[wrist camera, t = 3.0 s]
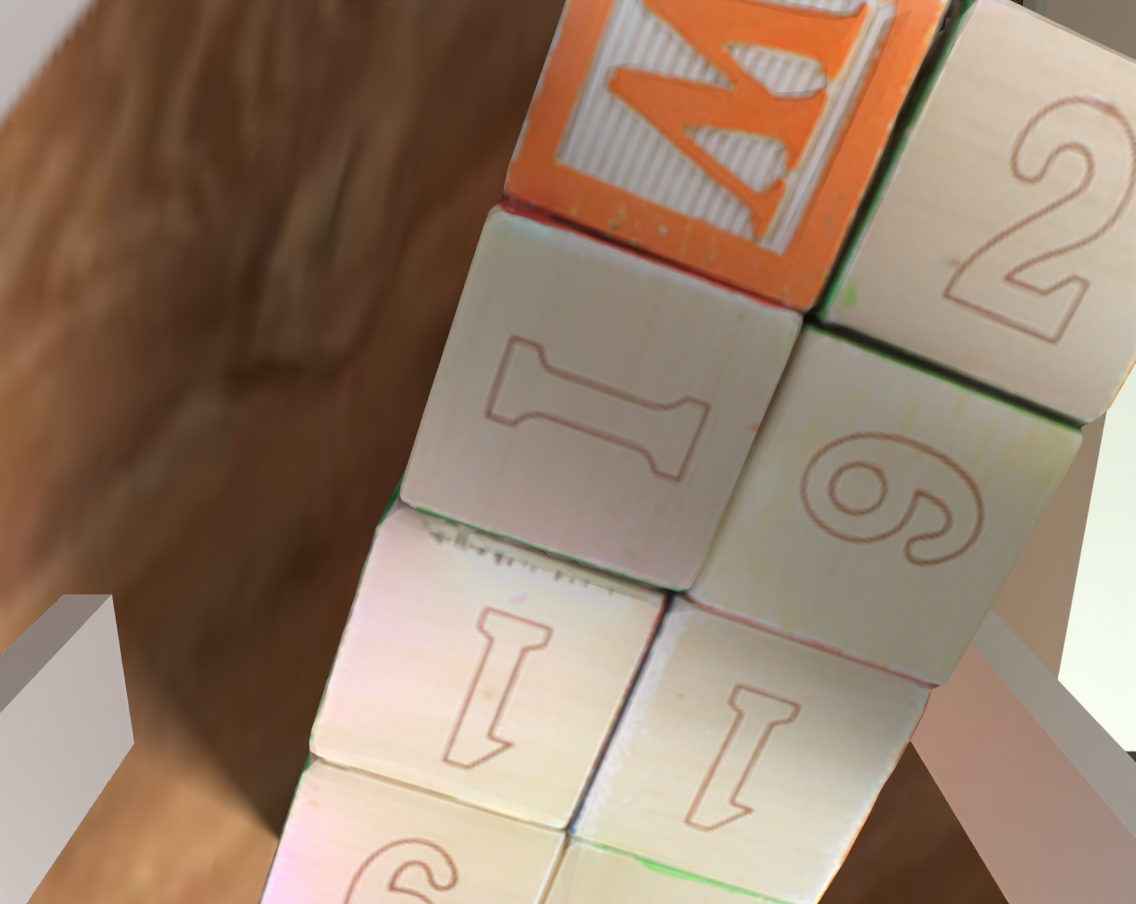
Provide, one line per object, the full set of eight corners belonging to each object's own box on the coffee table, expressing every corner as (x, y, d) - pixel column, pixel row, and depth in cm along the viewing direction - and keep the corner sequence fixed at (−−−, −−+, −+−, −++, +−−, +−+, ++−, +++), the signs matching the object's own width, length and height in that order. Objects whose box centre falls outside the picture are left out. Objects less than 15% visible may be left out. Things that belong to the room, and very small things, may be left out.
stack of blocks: (509, 914, 26) (470, 1547, 14) (282, 845, 25) (45, 1455, 14) (870, 126, 20) (1309, 113, 8) (586, 5, 19) (629, -197, 8)
